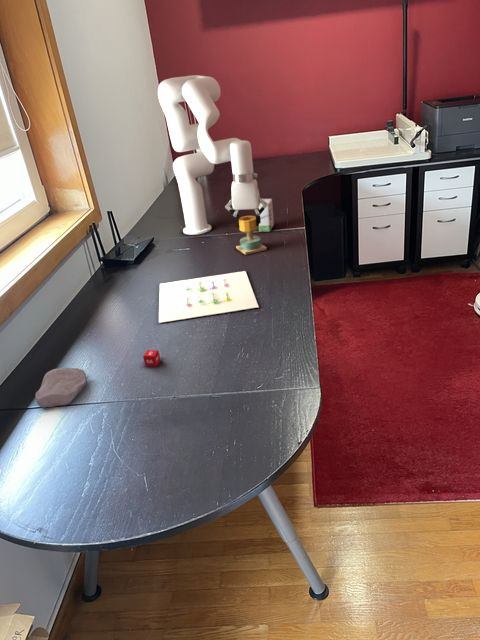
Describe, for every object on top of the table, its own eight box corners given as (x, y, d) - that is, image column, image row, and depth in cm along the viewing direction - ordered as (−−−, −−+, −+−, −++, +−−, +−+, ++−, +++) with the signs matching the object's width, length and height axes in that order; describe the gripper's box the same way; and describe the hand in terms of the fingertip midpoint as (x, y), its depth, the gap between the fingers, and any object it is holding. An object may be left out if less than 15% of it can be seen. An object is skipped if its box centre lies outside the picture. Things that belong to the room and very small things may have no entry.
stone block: (90, 382, 128) (49, 380, 127) (89, 366, 126) (47, 364, 125) (79, 412, 118) (35, 410, 117) (78, 396, 116) (32, 394, 115)
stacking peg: (236, 248, 199) (233, 225, 194) (256, 243, 202) (254, 220, 197) (245, 255, 192) (242, 230, 187) (266, 249, 195) (264, 225, 190)
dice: (156, 366, 129) (154, 356, 127) (145, 366, 129) (142, 356, 128) (160, 360, 131) (158, 350, 130) (149, 359, 132) (147, 350, 130)
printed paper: (258, 308, 152) (258, 303, 151) (158, 323, 149) (157, 319, 148) (245, 271, 178) (245, 267, 177) (160, 284, 175) (159, 280, 174)
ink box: (262, 225, 222) (260, 198, 215) (274, 225, 220) (272, 197, 214) (258, 232, 214) (256, 204, 208) (270, 231, 213) (268, 203, 207)
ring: (238, 232, 191) (237, 221, 189) (241, 226, 197) (240, 216, 194) (256, 231, 190) (255, 220, 188) (258, 225, 196) (257, 215, 194)
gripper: (268, 173, 185) (271, 221, 195) (221, 176, 188) (227, 223, 197) (266, 178, 179) (270, 227, 188) (218, 181, 181) (224, 230, 191)
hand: (248, 225), depth 193 cm, fingers closed on ring, 6 cm apart
